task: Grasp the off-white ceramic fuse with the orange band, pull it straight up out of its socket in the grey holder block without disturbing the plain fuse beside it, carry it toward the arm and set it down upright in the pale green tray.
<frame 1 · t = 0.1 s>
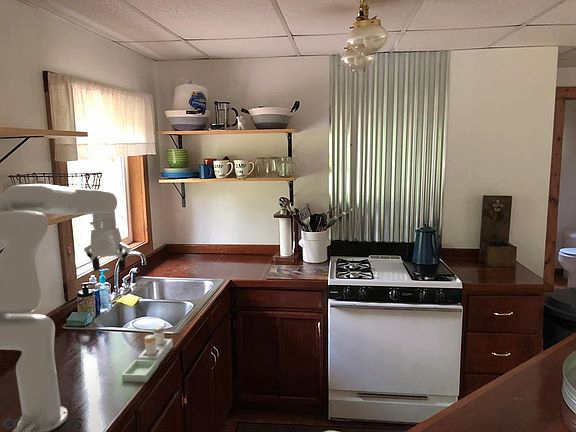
hand: (109, 270, 170), 31 cm above the counter, fingers open, 9 cm apart
tray: (140, 374, 155), on the counter
holder block: (156, 355, 169), on the counter
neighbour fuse: (160, 350, 173), resting in holder block
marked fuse: (152, 360, 165), resting in holder block
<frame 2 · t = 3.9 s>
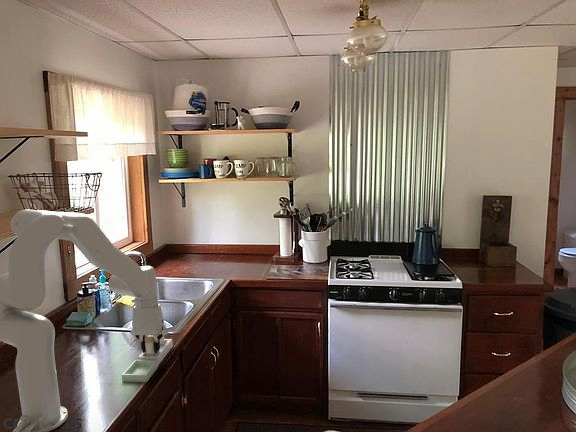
hand: (151, 350, 164), 4 cm above the counter, fingers closed on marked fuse, 3 cm apart
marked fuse: (152, 360, 165), resting in holder block, touching gripper
everything else where it was.
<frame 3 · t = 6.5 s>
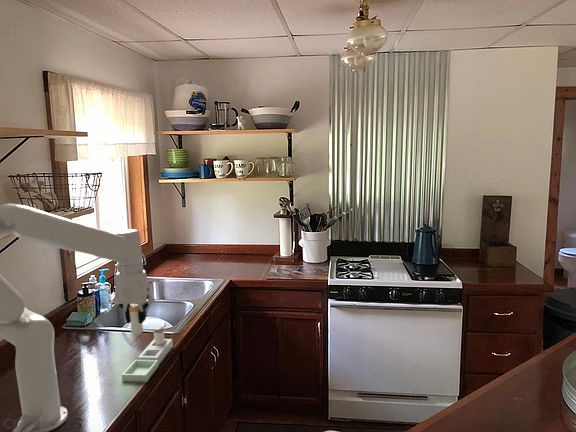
hand: (136, 321, 152), 19 cm above the counter, fingers closed on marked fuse, 3 cm apart
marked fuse: (137, 331, 153), point 15 cm above the counter, touching gripper
everything else where it was.
when the fingers open (6 cm above the counter, at t = 9.4 s): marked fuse drops 1 cm, resting on tray.
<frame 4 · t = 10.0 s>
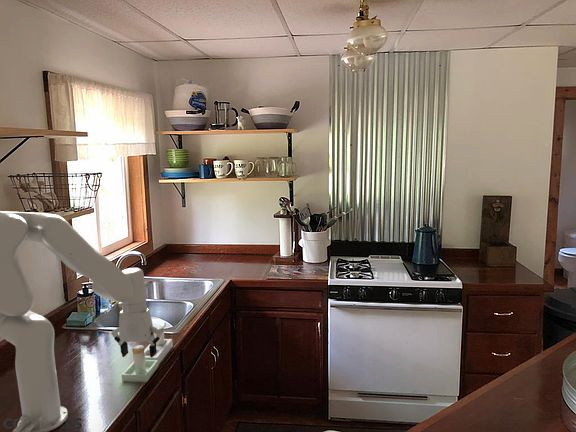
hand: (139, 355, 154), 7 cm above the counter, fingers open, 9 cm apart
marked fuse: (141, 372, 155), point 1 cm above the counter, touching tray
everything else where it was.
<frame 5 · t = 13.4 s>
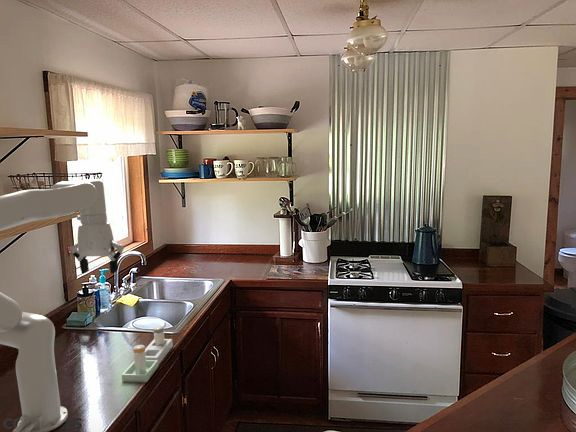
hand: (99, 272, 147), 36 cm above the counter, fingers open, 9 cm apart
nothing on the counter moved.
at the end: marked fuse inside the target area on the tray (0.1 cm from its centre), point 0.5 cm above the tray's base; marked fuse tilted 1°; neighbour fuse moved 0.0 cm from its start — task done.
